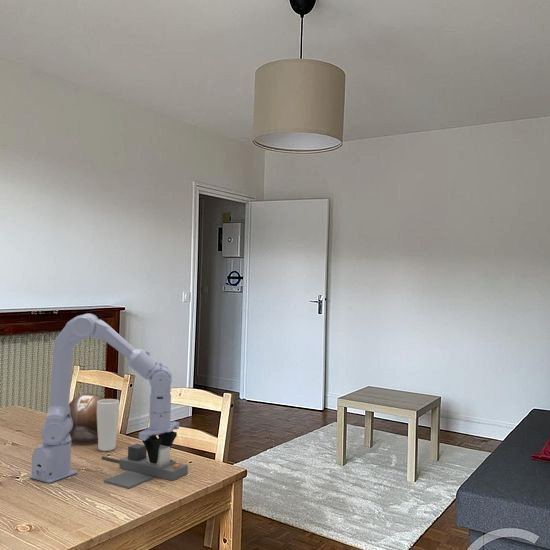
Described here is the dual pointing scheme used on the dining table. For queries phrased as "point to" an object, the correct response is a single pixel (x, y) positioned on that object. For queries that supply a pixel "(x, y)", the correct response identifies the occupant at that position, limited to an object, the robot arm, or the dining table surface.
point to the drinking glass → (107, 423)
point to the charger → (162, 456)
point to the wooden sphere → (84, 417)
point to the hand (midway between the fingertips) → (158, 460)
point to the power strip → (140, 464)
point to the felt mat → (128, 479)
